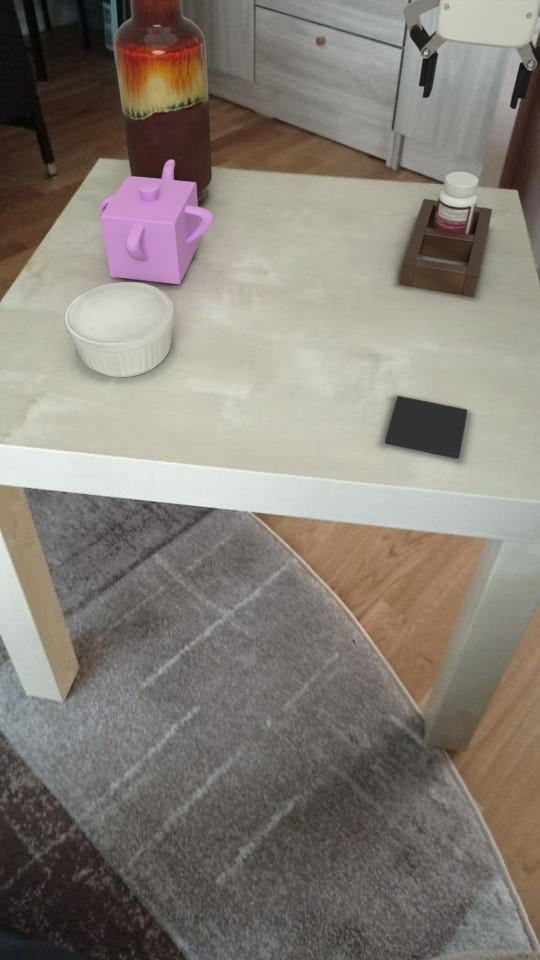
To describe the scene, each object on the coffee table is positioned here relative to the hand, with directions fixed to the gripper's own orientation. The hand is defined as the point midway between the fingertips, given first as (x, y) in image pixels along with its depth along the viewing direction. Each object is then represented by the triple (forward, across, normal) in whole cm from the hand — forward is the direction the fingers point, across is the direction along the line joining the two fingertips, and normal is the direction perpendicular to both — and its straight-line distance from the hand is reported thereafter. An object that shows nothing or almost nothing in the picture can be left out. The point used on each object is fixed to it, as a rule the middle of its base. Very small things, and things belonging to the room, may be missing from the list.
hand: (469, 98), depth 83 cm
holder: (+18, -1, +3) cm, 18 cm away
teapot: (+18, +33, +15) cm, 40 cm away
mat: (+18, -3, +36) cm, 40 cm away
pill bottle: (+18, -1, 0) cm, 18 cm away
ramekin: (+18, +30, +33) cm, 48 cm away
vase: (+18, +38, -1) cm, 42 cm away
